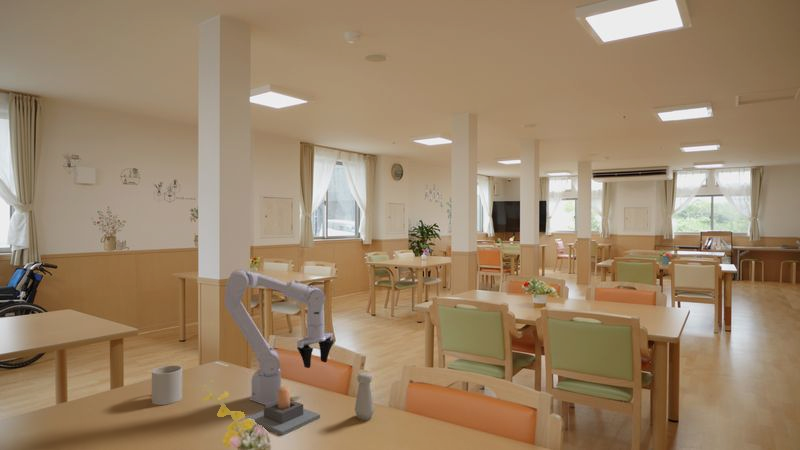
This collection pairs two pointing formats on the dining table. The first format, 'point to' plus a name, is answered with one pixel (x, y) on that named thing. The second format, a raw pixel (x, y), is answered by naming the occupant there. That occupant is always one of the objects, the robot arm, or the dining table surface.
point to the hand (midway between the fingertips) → (315, 364)
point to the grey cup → (166, 385)
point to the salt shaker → (364, 397)
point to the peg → (283, 398)
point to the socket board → (284, 417)
